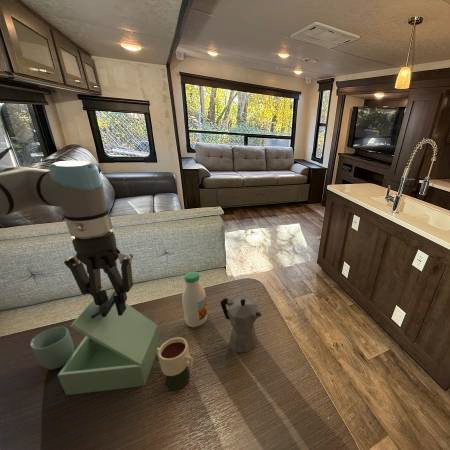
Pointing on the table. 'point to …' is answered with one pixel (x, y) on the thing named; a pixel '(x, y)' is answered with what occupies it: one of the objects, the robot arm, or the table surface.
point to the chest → (104, 368)
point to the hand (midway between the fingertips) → (114, 312)
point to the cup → (53, 347)
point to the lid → (117, 328)
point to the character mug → (175, 362)
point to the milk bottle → (194, 301)
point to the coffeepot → (241, 322)
